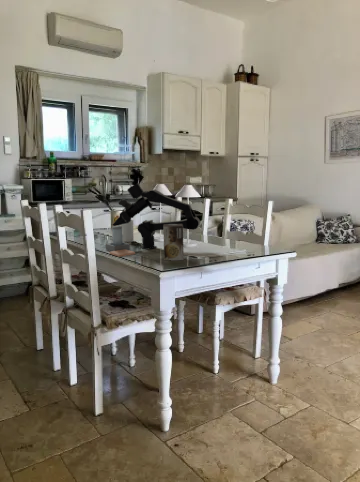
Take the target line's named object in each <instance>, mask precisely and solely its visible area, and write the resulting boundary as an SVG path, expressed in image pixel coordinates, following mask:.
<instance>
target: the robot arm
mask: <svg viewBox="0 0 360 482" xmlns="http://www.w3.org/2000/svg"><path fill="white" fill-rule="evenodd" d="M127 192H128V194H129V195H130V196H131V197H132V199H133V200H134V199H135V200H136V201H134V202H130V201H128V200H127V199H125V198H124V197H120V200H119V201H118V205H120V206H122V207H123V209H122V211H121V212H120V213H119V216H118V217H117V219H116V220H115V221H114V222H113V224H112V227H113V226H118V225H121V224H126V223H129V222H130V221H131V220H132V219H134V217H136V216H137V215H138V214H141V212H142V211H143V210H145V209H147V208H148V207H149V208H150V209H153V205H154V203H158V204H164V205H166V206H169V207H172V208H174V209H177V210H179V211H182V212H183V213H184V216H185V219H182V220H172V221H170V220H169V221H163V222H161V221H160V222H155V221H154V220H153V219H150V220H147V219H145V220H143V221H142V222H141V223H139V224H138V225H137V231H138V233H140V237H141V238H142V239H141V240H142V244H141V245H140V247H139V248H141V249H146V250H150V249H154V248H155V249H156V248H157V247H158V246H157V245H155V233H156V231H163V225H164V224H183V230H184V229H185V230H196V229H198V228H199V226H200V224H201V220H200V218H199V217H197V215H196V213H195V212H194V210H193V208H192V206H191V204H190V203H186V202H183V201H181V200H178V199H175V198H172V197H170V196H166V195H165V194H163V192H160V191H159V190H158V189H151V190H148V191H147V190H145V191H144V190H143V188H142V187H141V185H140V183H138V182H137V183H135V184H134V185H132V186H130V187H128V188H127ZM153 221H154V222H153Z"/></svg>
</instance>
